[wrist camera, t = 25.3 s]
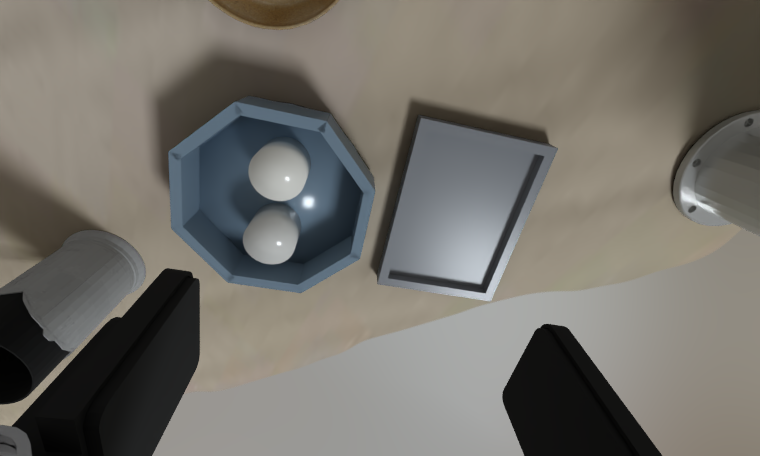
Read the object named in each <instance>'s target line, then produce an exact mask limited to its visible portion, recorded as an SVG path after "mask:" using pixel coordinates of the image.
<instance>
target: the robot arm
mask: <svg viewBox="0 0 760 456" xmlns="http://www.w3.org/2000/svg"><path fill="white" fill-rule="evenodd" d="M673 196H674V202H675V204H676V206H677V208H678V210H679V211H680V212H681V213H682V214H683V215H684V216H685V217H687V218H688V219H690V220H692V221H694V222H696V223H699V224H702V225H707V226H721V225H727V224H731V223H733V224H735V225H737V226H739V227H741V228H743V229H746V230H748V231H750V232H752V233H754V234H756V235H758V236H760V110H755V111H750V112H744V113H741V114H739V115H736V116H733V117H731V118H729V119H727V120H725V121H723V122H721V123H719V124H718V125H716V126H715V127H714V128H712V129H711V130H709V131H708V132H707V133H706V134H705V135H703V136H702V137H701V138H700V139H699V140H698V141H697V142H696V143H695V144H694V145H693V147H692V148H691V149H690V150H689V151H688V153H687V154H686V156H685V157H684V159H683V161H682V162H681V164H680V166H679V169H678V171H677V173H676V177H675V180H674V186H673ZM199 356H200V284H199V279H197V278H193V275H192V273H191V272H189V271H182V270H175V269H169V268H167V269H165V270H163V271H162V272H161V274H160V275H159V276H158V277H157V278H156V279H155V280H154V282H153V283H152V284H151V285H150V286H149V287H148V288H147V289H146V291H145V292H144V293H143V294H142V295H141V296H140V297H139V299H138V300H137V301H136V302H135V303H134V304H133V305H132V307H131V308H130V309H129V310H128V311H127V312H126V313H125V314H124V316H123V317H122V318H120V317H115V318H113V319H111V320H110V321H109V322H107V323H106V324H105V325H104V326H103V327H102V329H101V330H100V331H99V332H98V333H97V334H96V335H95V336H94V337H93V338H92V339H91V340H90V342H89V343H88V344H87V345H86V346H85V347H84V348H83V349H82V350H81V351H80V352H79V354H78V355H77V356H76V357H75V358H74V359H73V360H72V361H71V362H70V363H69V364H68V366H67V367H66V368H65V369H64V370H63V371H62V372H61V373H60V374H59V375H58V376H57V378H56V379H55V380H54V381H53V382H52V383H51V384H50V385H49V386H48V387H47V388H46V390H45V391H44V392H43V393H42V394H41V395H40V396H39V397H38V398H37V399H36V400H35V401H34V403H33V404H32V405H31V406H30V407H29V408H28V409H27V410H26V411H25V412H24V413H23V415H22V416H21V417H20V418H19V419H18V420H17V421H16V422H15V423H14V424H13V425H12V427H11V426H5V425H0V456H152V454H153V453H154V451H155V449H156V447H157V445H158V443H159V441H160V439H161V437H162V435H163V433H164V431H165V429H166V427H167V425H168V423H169V421H170V419H171V417H172V415H173V413H174V411H175V409H176V407H177V405H178V404H179V401H180V400H181V398H182V396H183V394H184V392H185V390H186V388H187V386H188V384H189V382H190V380H191V378H192V376H193V374H194V372H195V370H196V368H197V365H198V361H199ZM503 403H504V406H505V409H506V411H507V414H508V416H509V419H510V421H511V423H512V426H513V428H514V431H515V433H516V436H517V438H518V441H519V443H520V446H521V448H522V450H523V453H524V456H662V455H661V453H660V452H659V451H658V449H657V448H656V447H655V445H654V444H653V443H652V441H651V440H650V438H649V437H648V436H647V434H646V433H645V432H644V430H643V429H642V428H641V426H640V425H639V424H638V422H637V421H636V420H635V418H634V417H633V415H632V414H631V413H630V411H629V410H628V409H627V407H626V406H625V405H624V403H623V402H622V401H621V399H620V398H619V396H618V395H617V394H616V392H615V391H614V390H613V388H612V387H611V386H610V384H609V383H608V382H607V380H606V379H605V378H604V376H603V375H602V373H601V372H600V371H599V370H598V368H597V367H596V365H595V364H594V363H593V361H592V360H591V359H590V357H589V356H588V355H587V353H586V352H585V351H584V349H583V348H582V346H581V345H580V344H579V343H578V341H577V340H576V339H575V337H574V336H573V334H572V333H571V332H570V330H569V329H568V328H566V327H564V326H558V325H551V324H544V325H542V326H541V328H538V329H537V330H536V331H535V332H534V334H533V336H532V338H531V340H530V342H529V344H528V345H527V347H526V349H525V351H524V353H523V355H522V357H521V358H520V360H519V362H518V364H517V366H516V368H515V370H514V372H513V373H512V375H511V377H510V379H509V381H508V383H507V385H506V386H505V388H504V391H503Z"/></svg>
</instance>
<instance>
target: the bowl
mask: <svg viewBox="0 0 760 456" xmlns="http://www.w3.org/2000/svg"><path fill="white" fill-rule="evenodd" d="M276 137H290V138H293V139H295V140H297V141H299V142H300V143H301V144H302V145H303V146H304V147H305V148H306V149H307V151H308V153H309V155H310V158H311V169H310V172H309V175H308V177H307V180H306V183H305V185H304V187H303V189H302V191H301V192H300V193H299V194H298V195H297V196H296V197H294V198H292V199H290V200H286V201H275V200H271V199H268V198H266V197H264V196H262V195H261V194H260V193H258V192H257V191H256V189H255V188H254V187H253V185H252V183H251V181H250V178H249V173H248V169H249V164H250V161H251V159H252V158H253V156H254V155H255V154H256V153H257V152H258V151H259V150H260V149H261V148H262V147H263V146H264V145H265V144H266V143H267V142H268V141H269V140H271V139H273V138H276ZM168 158H169V182H170V207H171V228H172V230H173V231H174V232H175V233H176V234H178V235H179V236H180V237H181V238H182V239H183V240H184V241H185V242H186V243H187V244H188V245H189V246H190V247H191V248H192V249H193V250H194V251H195V252H196V253H197V254H198V255H199V256H200V257H202V258H203V259H204V260H205V261H206V262H207V263H208V264H209V265H210V266H211V267H212V268H213V269H214V270H215V271H216V272H217V273H218V274H219V275H220V276H221V277H222V278H223V279H225V280H226V281H227V282H228V283H235V284H241V285H248V286H255V287H262V288H269V289H276V290H283V291H290V292H297V293H302V292H304V291H305V290H307V289H309V288H311V287H312V286H314V285H316V284H317V283H319V282H321V281H323V280H324V279H326V278H328V277H330V276H331V275H333V274H335V273H336V272H338V271H340V270H342V269H343V268H345V267H347V266H349V265H350V264H352V263H354V262H355V261H357V260H359V259H360V256H361V252H362V247H363V243H364V238H365V234H366V230H367V225H368V221H369V216H370V212H371V208H372V203H373V199H374V194H375V184H374V177H373V175H372V174H371V172H370V171H369V169H368V168H367V166H366V165H365V163H364V162H363V160H362V159H361V157H360V155H359V154H358V152H357V150H356V148H355V147H354V145H353V144H352V142H351V141H350V140H349V139H348V137H347V136H346V135H345V134H344V133H343V131H342V130H341V128H340V127H339V125H338V124H337V122H336V121H335V119H334V118H333V116H332V115H331V114H330V113H327V112H322V111H317V110H313V109H308V108H305V107H302V106H299V105H295V104H292V103H286V102H279V101H271V100H267V99H262V98H257V97H253V96H247V97H244V98H242V99H240V100H238V101H235V102H234V103H232V104H231V105H230V106H228V107H227V108H226V109H224V110H223V111H222V112H220V113H219V114H218V115H216V116H215V117H214V118H212V119H211V120H210V121H208V122H207V123H206V124H204V125H203V126H202V127H200V128H199V129H198V130H197V131H195V132H194V133H193V134H191V135H190V136H189V137H187V138H186V139H185V140H183V141H182V142H181V143H179V144H178V145H177V146H175V147H174V148H173V149H171V150H170V151H169V152H168ZM270 203H281V204H284V205H287V206H289V207H290V208H292V209H293V210H294V211H295V212H296V213H297V214H298V216H299V218H300V220H301V231H300V235H299V238H298V241H297V244H296V247H295V250H294V252H293V254H292V256H291V257H290V258H289V259H288V260H286V261H284V262H282V263H279V264H264V263H261V262H259V261H257V260H255V259H254V258H252V257H251V256H250V255H249V254H248V253H247V251H246V250H245V248H244V245H243V235H244V232H245V230H246V228H247V227H248V225H249V223H250V222H251V220H252V219H253V217H254V215H255V214H256V212H257V211H258V210H259V209H260V208H261V207H262V206H264V205H266V204H270Z"/></svg>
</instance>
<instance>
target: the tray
mask: <svg viewBox="0 0 760 456" xmlns="http://www.w3.org/2000/svg"><path fill="white" fill-rule="evenodd" d="M557 150H558V148H556V147H554V146H552V145H550V144H547V143H542V142H538V141H534V140H529V139H525V138H520V137H516V136H511V135H507V134H502V133H498V132H493V131H489V130H484V129H480V128H476V127H471V126H467V125H462V124H458V123H453V122H449V121H444V120H440V119H435V118H431V117H426V116H422V115H418V118H417V122H416V125H415V129H414V133H413V137H412V141H411V145H410V149H409V153H408V156H407V160H406V164H405V168H404V172H403V176H402V180H401V184H400V187H399V191H398V195H397V199H396V203H395V207H394V211H393V215H392V218H391V222H390V226H389V230H388V234H387V238H386V242H385V246H384V249H383V253H382V257H381V261H380V265H379V269H378V273H377V284H380V285H387V286H393V287H400V288H406V289H413V290H419V291H426V292H433V293H439V294H446V295H452V296H459V297H465V298H472V299H479V300H485V301H491V299H492V297H493V295H494V292H495V290H496V288H497V286H498V283H499V281H500V279H501V277H502V274H503V272H504V270H505V268H506V265H507V263H508V261H509V259H510V256H511V254H512V252H513V249H514V247H515V245H516V243H517V240H518V238H519V236H520V234H521V231H522V229H523V227H524V225H525V222H526V220H527V218H528V216H529V213H530V211H531V209H532V206H533V204H534V202H535V200H536V197H537V195H538V193H539V191H540V188H541V186H542V184H543V182H544V179H545V177H546V175H547V173H548V170H549V168H550V166H551V163H552V161H553V159H554V157H555V154H556V152H557Z"/></svg>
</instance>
